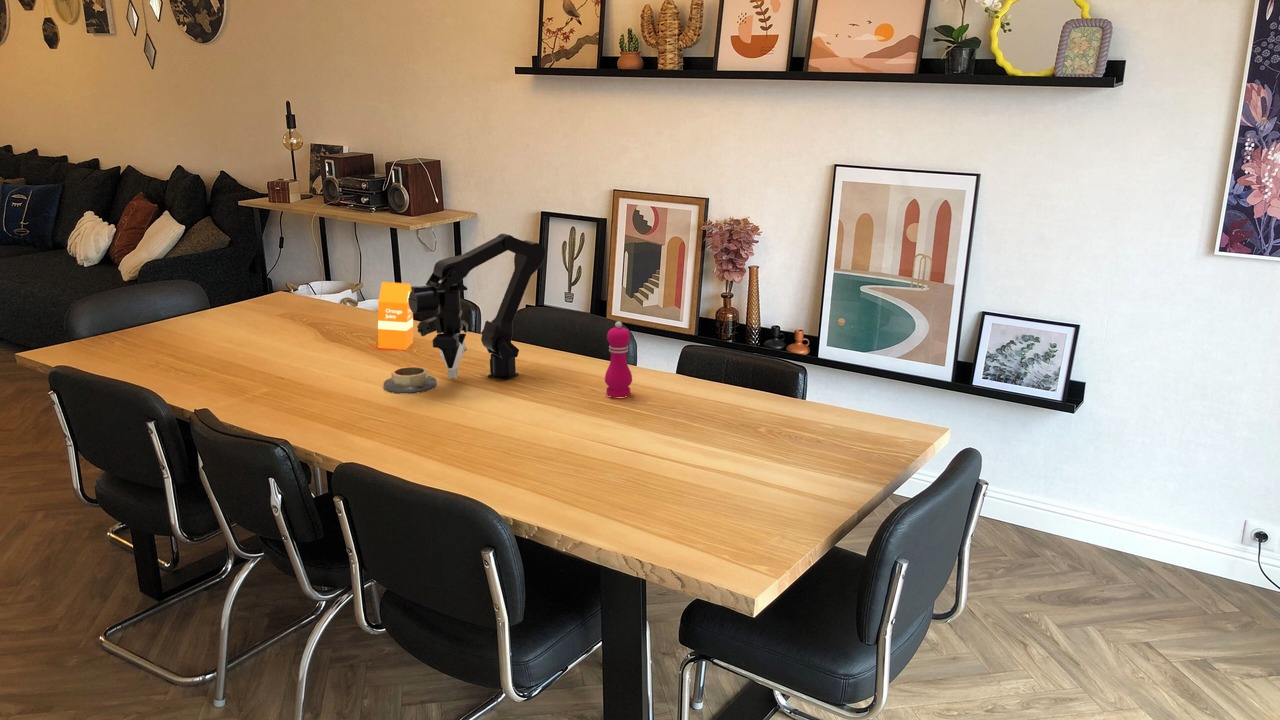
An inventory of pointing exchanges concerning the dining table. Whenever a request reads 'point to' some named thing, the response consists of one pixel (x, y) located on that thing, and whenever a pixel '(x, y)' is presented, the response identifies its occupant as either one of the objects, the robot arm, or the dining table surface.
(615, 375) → the pepper mill
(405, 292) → the orange juice
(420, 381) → the holder
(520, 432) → the dining table surface
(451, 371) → the lightbulb
